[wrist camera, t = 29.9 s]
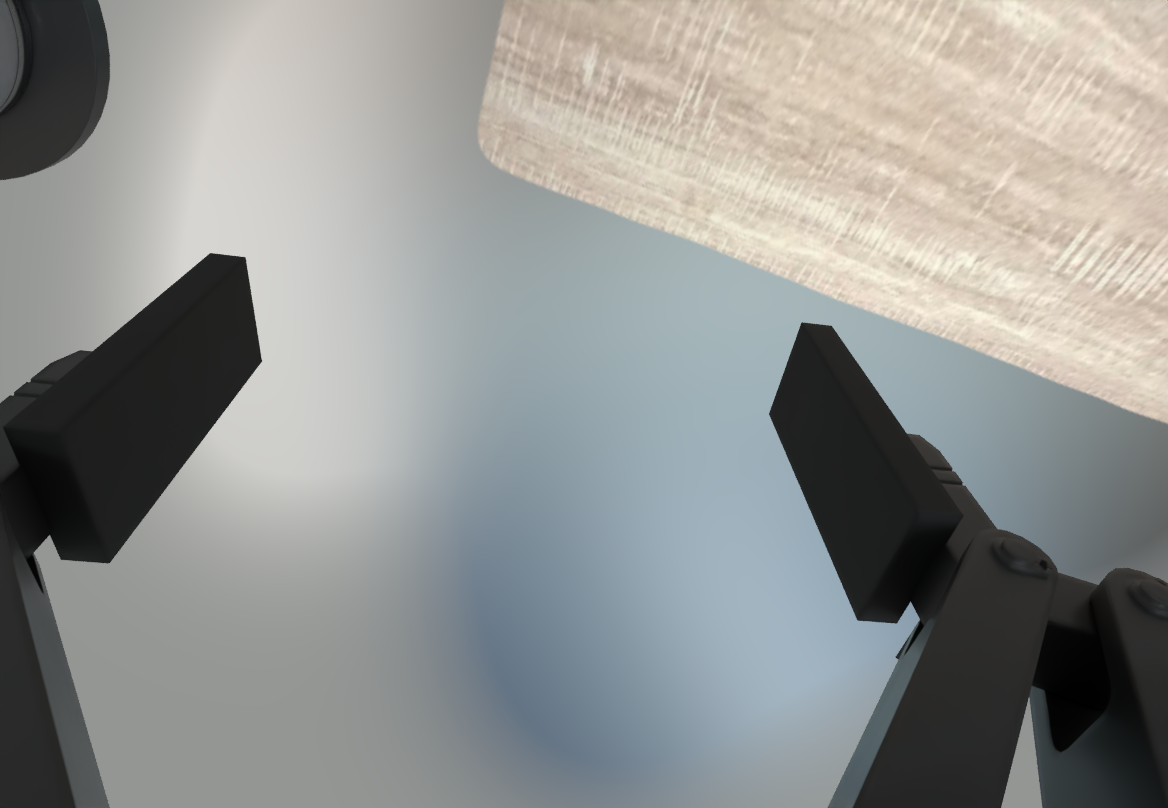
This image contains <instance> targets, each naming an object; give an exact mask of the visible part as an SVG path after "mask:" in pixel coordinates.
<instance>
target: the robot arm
mask: <svg viewBox="0 0 1168 808" xmlns="http://www.w3.org/2000/svg"><path fill="white" fill-rule="evenodd" d="M32 59H33V50H32V38H31V32H30V27H29V22H28V19H27V15H26V12H25V9H24V6H23V3H22V1H21V0H0V116H1V115H3V114H4V113H6V112H7V111H9V110H10V109H11V108H12V107H13V106H14V105H15V104H16V103H17V102H18V100H19V99H20V98H21V96H22V94H23V93H24V91H25V89H26V87H27V84H28V81H29V78H30V74H31V69H32ZM261 362H262V359H261V353H260V346H259V340H258V334H257V327H256V321H255V315H254V308H253V303H252V296H251V289H250V283H249V277H248V270H247V264H246V258H245V257H238V256H230V255H221V254H213V253H210V254H209V255H208V256H206V257H205V258H204V259H203V260H202V261H200V262H199V263H198V264H197V265H196V266H194V267H193V268H192V269H191V270H190V271H189V272H187V273H186V274H185V275H184V276H183V277H181V278H180V279H179V280H178V281H176V282H175V283H174V284H173V285H172V286H171V287H169V288H168V289H167V290H166V291H164V292H163V293H162V294H161V295H160V296H159V297H157V298H156V299H155V300H154V301H153V302H151V303H150V304H149V305H148V306H147V307H145V308H144V309H143V310H142V311H141V312H139V313H138V314H137V315H136V316H135V317H133V318H132V319H131V320H130V321H129V322H127V323H126V324H125V325H124V326H123V327H121V328H120V329H119V330H118V331H117V332H116V333H114V334H113V335H112V336H111V337H109V338H108V339H107V340H106V341H105V342H103V344H101V345H100V346H99V347H97V348H96V349H95V350H94V351H93V352H91V351H82V350H81V351H77V352H75V353H73V354H71V355H68V356H66V357H64V358H61V359H59V360H57V361H55V362H53V363H51V364H49V365H48V366H47V367H45V368H44V369H43V370H42V371H40V372H39V373H38V374H37V375H35V376H34V377H33V378H32V379H31V382H29V383H28V382H26V383H25V384H24V385H23V386H21V387H20V388H19V389H18V390H16V391H15V392H14V396H9V397H7V398H6V399H5V400H4V401H3V402H1V403H0V808H110V807H109V804H108V800H107V797H106V794H105V790H104V787H103V783H102V780H101V776H100V773H99V769H98V766H97V762H96V759H95V755H94V752H93V748H92V745H91V742H90V739H89V735H88V731H87V728H86V725H85V721H84V717H83V714H82V710H81V707H80V703H79V700H78V697H77V693H76V690H75V686H74V683H73V679H72V676H71V672H70V669H69V665H68V662H67V658H66V655H65V651H64V648H63V645H62V641H61V638H60V634H59V631H58V627H57V624H56V620H55V617H54V613H53V610H52V606H51V603H50V599H49V596H48V593H47V590H46V586H45V582H44V579H43V575H42V572H41V568H40V565H39V564H38V561H37V559H36V557H35V555H34V552H35V550H36V549H37V548H38V547H39V546H40V545H41V544H42V542H43V541H44V540H45V539H46V538H47V537H48V536H49V535H50V536H51V538H52V540H53V543H54V545H55V547H56V550H57V552H58V554H59V556H60V559H61V560H72V561H86V562H98V563H110V562H111V561H112V559H113V558H114V556H115V555H116V554H117V553H118V551H119V550H120V549H121V547H122V546H123V545H124V543H125V542H126V541H127V539H128V538H129V537H130V535H131V534H132V533H133V531H134V530H135V529H136V527H137V526H138V525H139V523H140V522H141V521H142V519H143V518H144V517H145V516H146V514H147V513H148V512H149V510H150V509H151V508H152V506H153V505H154V504H155V502H156V501H157V500H158V498H159V497H160V496H161V494H162V493H163V492H164V490H165V489H166V488H167V486H168V485H169V484H170V482H171V481H172V480H173V478H174V477H175V476H176V474H177V473H178V472H179V470H180V469H181V468H182V467H183V465H184V464H185V463H186V461H187V460H188V459H189V457H190V456H191V455H192V453H193V452H194V451H195V449H196V448H197V446H198V445H199V444H200V443H201V441H202V440H203V439H204V437H205V436H206V435H207V433H208V432H209V431H210V429H211V428H212V427H213V425H214V424H215V423H216V421H217V420H218V418H220V416H221V415H222V413H223V412H224V411H225V410H226V408H227V407H228V406H229V404H230V403H231V401H232V400H233V399H234V398H235V396H236V395H237V393H238V392H239V391H240V390H241V388H242V387H243V386H244V384H245V383H246V382H247V380H248V379H249V378H250V376H251V375H252V374H253V372H254V371H255V370H256V368H257V367H258V366H259V365H260V363H261ZM769 415H770V417H771V419H772V422H773V424H774V427H775V429H776V431H777V434H778V436H779V438H780V441H781V443H782V445H783V448H784V450H785V452H786V455H787V457H788V459H789V462H790V464H791V466H792V469H793V471H794V473H795V476H796V478H797V480H798V483H799V484H800V487H801V490H802V492H803V494H804V497H805V499H806V501H807V504H808V506H809V508H810V510H811V513H812V515H813V518H814V520H815V522H816V525H817V527H818V529H819V532H820V534H821V536H822V539H823V541H824V543H825V546H826V548H827V550H828V553H829V555H830V557H831V560H832V562H833V564H834V567H835V569H836V571H837V574H838V576H839V578H840V580H841V583H842V585H843V588H844V590H845V592H846V595H847V597H848V599H849V602H850V604H851V606H852V608H853V611H854V613H855V616H856V618H857V620H859V621H872V622H885V623H897V622H898V621H899V619H900V617H901V616H902V614H903V613H904V611H905V610H906V608H907V606H908V605H909V603H910V601H911V603H912V605H913V607H914V608H915V610H916V612H917V614H918V616H919V618H920V621H919V622H918V624H917V625H916V627H915V628H914V630H913V631H912V633H911V634H910V636H909V637H908V639H907V641H906V642H905V644H904V645H903V647H902V648H901V650H900V651H899V653H898V654H897V656H896V658H897V659H899V660H898V662H897V664H896V666H895V669H894V671H893V673H892V675H891V677H890V679H889V681H888V683H887V685H886V687H885V689H884V692H883V694H882V696H881V698H880V700H879V702H878V704H877V706H876V708H875V710H874V712H873V714H872V716H871V719H870V721H869V723H868V725H867V727H866V729H865V731H864V733H863V735H862V737H861V739H860V741H859V744H858V746H857V748H856V750H855V752H854V754H853V756H852V758H851V760H850V762H849V765H848V767H847V768H846V771H845V773H844V775H843V777H842V779H841V781H840V783H839V785H838V787H837V789H836V791H835V793H834V795H833V798H832V800H831V802H830V804H829V806H828V808H1001V805H1002V802H1003V797H1004V794H1005V790H1006V786H1007V782H1008V778H1009V774H1010V769H1011V766H1012V761H1013V758H1014V754H1015V749H1016V746H1017V741H1018V737H1019V733H1020V730H1021V726H1022V721H1023V718H1024V714H1025V710H1026V706H1027V702H1028V698H1029V697H1030V705H1031V714H1032V722H1033V731H1034V739H1035V747H1036V756H1037V765H1038V773H1039V782H1040V789H1041V798H1042V807H1043V808H1168V583H1166V582H1164V581H1163V580H1161V579H1159V578H1155V577H1153V576H1151V575H1149V574H1147V573H1144V572H1141V571H1137V570H1133V569H1129V568H1116V569H1114V570H1113V571H1111V572H1110V573H1108V574H1107V576H1106V577H1105V578H1104V579H1103V580H1102V582H1101V583H1100V584H1099V585H1096V584H1093V583H1090V582H1087V581H1083V580H1080V579H1077V578H1074V577H1070V576H1067V575H1064V574H1061V573H1058V572H1057V568H1056V566H1055V565H1054V563H1053V562H1052V561H1051V559H1050V557H1049V556H1048V555H1046V554H1045V553H1044V552H1043V551H1042V550H1041V549H1040V548H1039V547H1038V546H1036V545H1034V544H1033V543H1031V542H1029V541H1028V540H1026V539H1025V538H1023V537H1021V536H1018V535H1016V534H1013V533H1011V532H1008V531H1005V530H998V529H997V528H996V527H995V526H994V524H993V523H992V521H991V520H990V519H989V517H988V516H987V515H986V513H985V512H984V510H983V509H982V508H981V507H980V505H979V504H978V502H977V501H976V500H975V498H974V497H973V496H972V494H971V493H970V492H969V490H968V489H967V487H966V486H963V485H962V481H961V479H960V478H959V477H958V475H957V474H956V473H955V472H953V471H952V467H951V466H950V464H949V463H948V462H947V461H946V459H945V458H944V456H943V455H942V454H941V452H940V451H939V450H938V449H936V448H935V447H934V446H933V445H931V444H930V443H929V442H927V441H926V440H925V439H924V438H922V437H921V436H920V435H913V434H907V433H906V432H905V431H904V429H903V428H902V426H901V425H900V423H899V422H898V420H897V419H896V418H895V416H894V415H893V413H892V412H891V410H890V409H889V408H888V406H887V405H886V403H885V402H884V400H883V399H882V397H881V396H880V395H879V393H878V392H877V390H876V389H875V387H874V386H873V385H872V383H871V382H870V380H869V379H868V377H867V376H866V375H865V373H864V372H863V370H862V369H861V367H860V366H859V364H858V363H857V362H856V360H855V359H854V357H853V356H852V354H851V353H850V352H849V350H848V349H847V347H846V346H845V344H844V343H843V342H842V340H841V339H840V337H839V336H838V334H837V333H836V332H835V330H834V329H833V327H832V326H828V325H827V326H826V325H819V324H810V323H801V326H800V329H799V331H798V334H797V337H796V340H795V343H794V345H793V349H792V351H791V354H790V357H789V360H788V362H787V365H786V368H785V371H784V374H783V376H782V379H781V382H780V385H779V388H778V390H777V393H776V396H775V399H774V402H773V404H772V407H771V410H770V413H769Z"/></svg>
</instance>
